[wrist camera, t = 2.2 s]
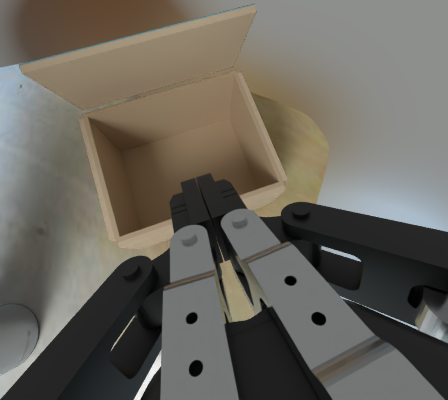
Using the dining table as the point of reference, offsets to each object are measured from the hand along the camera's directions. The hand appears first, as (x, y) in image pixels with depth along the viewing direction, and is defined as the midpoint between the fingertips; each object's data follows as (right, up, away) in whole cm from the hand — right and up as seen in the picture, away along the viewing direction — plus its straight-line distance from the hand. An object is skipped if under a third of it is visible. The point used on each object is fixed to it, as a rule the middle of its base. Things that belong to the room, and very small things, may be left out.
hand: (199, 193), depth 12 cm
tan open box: (-5, +4, +32) cm, 32 cm away
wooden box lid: (-7, +14, +15) cm, 22 cm away
